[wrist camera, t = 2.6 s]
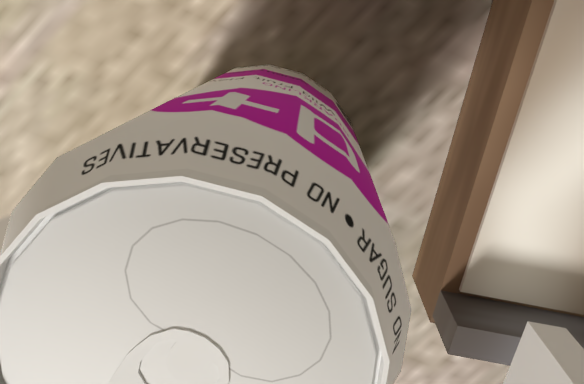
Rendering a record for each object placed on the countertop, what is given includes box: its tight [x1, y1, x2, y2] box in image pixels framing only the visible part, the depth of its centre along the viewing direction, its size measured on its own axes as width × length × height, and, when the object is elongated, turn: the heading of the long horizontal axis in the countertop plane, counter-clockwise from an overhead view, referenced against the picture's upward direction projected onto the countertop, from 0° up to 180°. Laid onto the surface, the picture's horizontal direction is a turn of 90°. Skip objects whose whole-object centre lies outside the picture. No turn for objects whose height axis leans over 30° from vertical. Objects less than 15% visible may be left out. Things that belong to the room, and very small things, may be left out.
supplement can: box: [0, 64, 411, 384], centre depth 16 cm, size 8×8×15 cm
